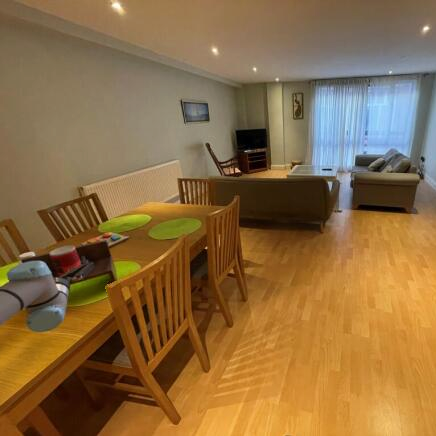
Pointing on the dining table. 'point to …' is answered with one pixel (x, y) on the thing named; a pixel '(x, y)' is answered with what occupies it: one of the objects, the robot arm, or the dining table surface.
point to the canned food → (65, 259)
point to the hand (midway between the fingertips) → (61, 264)
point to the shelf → (92, 253)
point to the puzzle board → (107, 239)
